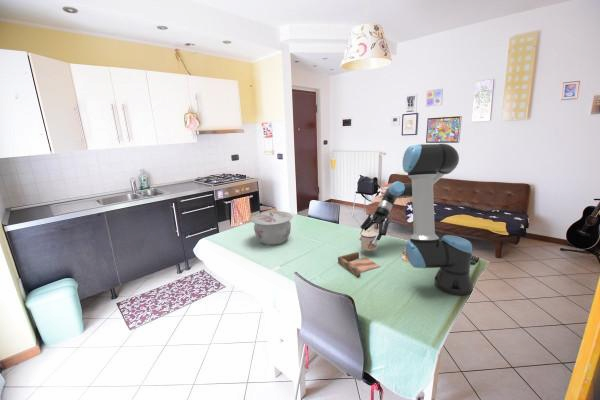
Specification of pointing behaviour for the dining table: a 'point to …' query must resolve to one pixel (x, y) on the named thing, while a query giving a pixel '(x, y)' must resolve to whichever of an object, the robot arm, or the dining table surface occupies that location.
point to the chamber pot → (272, 227)
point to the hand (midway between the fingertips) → (366, 242)
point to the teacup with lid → (368, 240)
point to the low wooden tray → (356, 263)
